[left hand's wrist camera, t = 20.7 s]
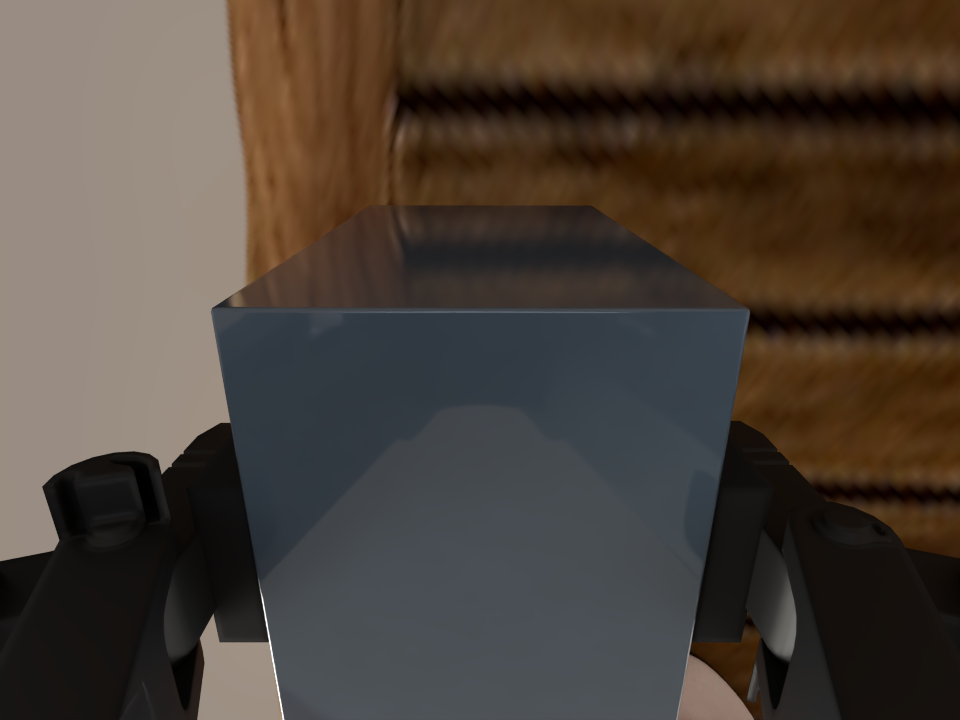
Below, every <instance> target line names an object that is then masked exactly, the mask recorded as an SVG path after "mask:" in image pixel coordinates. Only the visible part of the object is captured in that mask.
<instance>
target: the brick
mask: <svg viewBox="0 0 960 720" xmlns="http://www.w3.org/2000/svg"><path fill="white" fill-rule="evenodd" d="M211 314H212V320H213V325H214V331H215V337H216V343H217V348H218V354H219V360H220V365H221V371H222V377H223V382H224V388H225V394H226V400H227V405H228V411H229V417H230V422H231V428H232V434H233V440H234V445H235V451H236V457H237V462H238V468H239V474H240V479H241V485H242V491H243V497H244V502H245V508H246V514H247V519H248V525H249V531H250V537H251V542H252V548H253V554H254V559H255V565H256V571H257V576H258V582H259V588H260V594H261V599H262V605H263V611H264V616H265V622H266V628H267V633H268V639H269V645H270V651H271V656H272V662H273V668H274V673H275V679H276V685H277V690H278V696H279V702H280V708H281V713H282V719H283V720H678V715H679V709H680V703H681V698H682V692H683V687H684V681H685V675H686V670H687V664H688V659H689V653H690V647H691V642H692V636H693V631H694V625H695V619H696V614H697V608H698V602H699V597H700V591H701V586H702V580H703V574H704V569H705V563H706V558H707V552H708V546H709V541H710V535H711V530H712V524H713V518H714V513H715V507H716V501H717V496H718V490H719V485H720V479H721V473H722V468H723V462H724V457H725V451H726V445H727V440H728V434H729V429H730V423H731V417H732V412H733V406H734V401H735V395H736V389H737V384H738V378H739V372H740V367H741V361H742V356H743V350H744V344H745V339H746V333H747V328H748V322H749V316H750V310H749V308H747V307H746V306H744V305H742V304H741V303H739V302H738V301H736V300H735V299H733V298H732V297H730V296H729V295H727V294H726V293H724V292H723V291H721V290H720V289H718V288H716V287H715V286H713V285H712V284H710V283H709V282H707V281H706V280H704V279H703V278H701V277H700V276H698V275H697V274H695V273H694V272H692V271H690V270H689V269H687V268H686V267H684V266H683V265H681V264H680V263H678V262H677V261H675V260H674V259H672V258H671V257H669V256H668V255H666V254H664V253H663V252H661V251H660V250H658V249H657V248H655V247H654V246H652V245H651V244H649V243H648V242H646V241H645V240H643V239H642V238H640V237H638V236H637V235H635V234H634V233H632V232H631V231H629V230H628V229H626V228H625V227H623V226H622V225H620V224H619V223H617V222H616V221H614V220H612V219H611V218H609V217H608V216H606V215H605V214H603V213H602V212H600V211H599V210H597V209H596V208H594V207H593V206H368V207H367V208H365V209H364V210H362V211H361V212H359V213H357V214H356V215H354V216H353V217H351V218H350V219H348V220H347V221H345V222H344V223H342V224H341V225H339V226H338V227H336V228H334V229H333V230H331V231H330V232H328V233H327V234H325V235H324V236H322V237H321V238H319V239H318V240H316V241H315V242H313V243H311V244H310V245H308V246H307V247H305V248H304V249H302V250H301V251H299V252H298V253H296V254H295V255H293V256H292V257H290V258H288V259H287V260H285V261H284V262H282V263H281V264H279V265H278V266H276V267H275V268H273V269H272V270H270V271H269V272H267V273H265V274H264V275H262V276H261V277H259V278H258V279H256V280H255V281H253V282H252V283H250V284H249V285H247V286H246V287H244V288H242V289H241V290H239V291H238V292H236V293H235V294H233V295H232V296H230V297H229V298H227V299H226V300H224V301H223V302H221V303H220V304H218V305H216V306H215V307H213V308H212V311H211Z"/></svg>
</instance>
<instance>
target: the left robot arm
mask: <svg viewBox="0 0 960 720" xmlns="http://www.w3.org/2000/svg"><path fill="white" fill-rule="evenodd" d="M42 487H43V491H44V494H45V497H46V500H47V503H48V506H49V509H50V512H51V515H52V518H53V521H54V525H55V528H56V531H57V534H58V537H59V540H60V541H59V543H58V545H57V546H56V548H55V550H54V551H51V552H46V553H40V554H35V555H30V556H25V557H20V558H15V559H10V560H5V561H0V720H197V716H198V708H199V701H200V693H201V685H202V678H203V670H204V656H203V650H202V646H201V641H200V637H201V635H202V633H203V631H204V629H205V628H206V626H207V624H208V622H209V620H210V619H211V617H212V615H213V614H214V618H215V623H216V627H217V632H218V636H219V641H220V642H269V639H268V633H267V628H266V622H265V616H264V611H263V605H262V599H261V594H260V588H259V582H258V576H257V571H256V565H255V559H254V554H253V548H252V542H251V537H250V531H249V525H248V519H247V514H246V508H245V502H244V497H243V491H242V485H241V479H240V474H239V468H238V462H237V457H236V451H235V445H234V440H233V434H232V428H231V423H220V424H218V425H216V426H214V427H213V428H211V429H209V430H207V431H206V432H204V433H202V434H200V435H199V436H197V437H196V439H195V440H194V441H193V442H192V443H191V444H190V445H189V446H188V447H187V448H186V449H185V450H184V454H181V455H180V456H179V457H178V458H177V459H176V460H175V461H174V462H173V463H172V467H169V468H168V469H167V470H166V471H165V472H164V473H163V474H161V470H160V466H159V461H158V459H156V458H155V457H153V456H152V455H150V454H147V453H141V452H135V451H133V452H117V453H111V454H106V455H101V456H97V457H92V458H90V459H87V460H84V461H82V462H79V463H76V464H74V465H71V466H70V467H68V468H66V469H64V470H62V471H61V472H59V473H57V474H55V475H54V476H53V477H52V478H51V479H50V480H49V481H48V482H47V483H46V484H45V485H44V486H42ZM747 611H748V613H749V615H750V617H751V618H752V620H753V622H754V624H755V626H756V627H757V629H758V631H759V633H760V634H761V637H760V641H759V646H758V650H757V654H756V659H755V663H754V667H753V671H752V676H751V680H750V684H749V689H748V695H747V701H750V702H754V703H755V701H756V696H757V692H758V690H759V692H760V699H761V707H762V715H763V720H960V559H959V558H954V557H949V556H944V555H939V554H934V553H928V552H923V551H918V550H913V549H909V548H905V547H904V545H903V543H902V541H901V540H900V538H899V537H898V536H897V535H896V534H895V532H894V531H893V530H892V529H891V528H890V527H889V526H887V525H886V524H885V523H883V522H882V521H880V520H879V519H877V518H876V517H874V516H872V515H870V514H868V513H865V512H863V511H861V510H859V509H856V508H854V507H850V506H847V505H843V504H839V503H835V502H827V501H826V500H825V499H824V498H823V497H822V496H821V495H820V494H819V493H818V492H817V491H816V490H815V489H814V488H813V487H812V486H811V484H810V483H809V482H808V481H807V480H806V479H805V478H804V477H803V476H802V475H801V474H800V473H799V472H798V471H797V470H796V469H795V467H794V466H793V465H789V461H788V460H787V459H786V458H785V457H784V456H783V455H782V454H781V453H780V452H777V448H776V447H775V446H774V445H773V444H772V443H771V442H770V441H769V440H768V439H767V438H766V437H765V436H764V435H763V434H762V433H760V432H759V431H757V430H755V429H753V428H752V427H750V426H748V425H746V424H744V423H743V422H741V421H731V423H730V429H729V434H728V440H727V445H726V451H725V457H724V462H723V468H722V473H721V479H720V485H719V490H718V496H717V501H716V507H715V513H714V518H713V524H712V530H711V535H710V541H709V546H708V552H707V558H706V563H705V569H704V574H703V580H702V586H701V591H700V597H699V602H698V608H697V614H696V619H695V625H694V631H693V636H692V642H741V639H742V634H743V629H744V625H745V620H746V616H747Z"/></svg>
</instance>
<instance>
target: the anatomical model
mask: <svg viewBox="0 0 960 720" xmlns="http://www.w3.org/2000/svg"><path fill="white" fill-rule="evenodd" d="M678 720H754V719H753V717H752V715H751V714H750V712H749V711H748V709H747V708H746V707H745V705H744V704H743V702H742V701H741V700H740V698H739V697H738V696H737V695H736V694H735V692H734V691H733V690H732V689H731V688H730V687H729V686H728V684H727V683H726V682H725V681H724V680H723V679H722V678H721V677H720V676H719V675H718V674H717V673H716V672H715V671H714V670H712V669H711V668H710V667H709V666H708V665H707V664H705V663H704V662H702V661H701V660H699V659H697V658H696V657H694V656H692V655H690V654H689V659H688V664H687V670H686V675H685V681H684V687H683V692H682V698H681V703H680V709H679V715H678Z"/></svg>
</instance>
